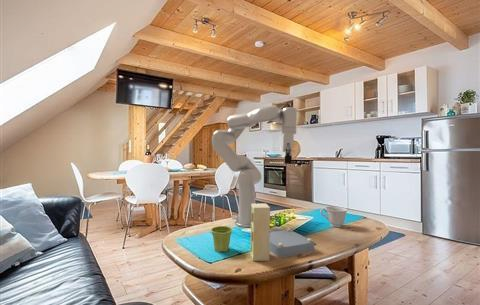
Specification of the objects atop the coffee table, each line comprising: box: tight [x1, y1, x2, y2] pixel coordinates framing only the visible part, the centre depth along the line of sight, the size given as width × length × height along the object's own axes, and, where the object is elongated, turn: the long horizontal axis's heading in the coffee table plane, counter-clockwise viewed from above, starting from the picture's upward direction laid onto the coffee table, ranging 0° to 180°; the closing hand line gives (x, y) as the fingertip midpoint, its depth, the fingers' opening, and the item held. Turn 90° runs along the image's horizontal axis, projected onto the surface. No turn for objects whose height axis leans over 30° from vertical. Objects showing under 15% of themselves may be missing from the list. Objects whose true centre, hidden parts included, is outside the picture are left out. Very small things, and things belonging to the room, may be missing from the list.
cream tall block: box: [250, 202, 271, 262], centre depth 104 cm, size 8×7×21 cm
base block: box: [269, 227, 315, 259], centre depth 116 cm, size 18×18×5 cm
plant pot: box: [210, 225, 234, 252], centre depth 111 cm, size 9×9×9 cm
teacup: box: [319, 205, 349, 228], centre depth 149 cm, size 12×15×10 cm
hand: (288, 163), depth 137 cm, fingers open, 9 cm apart
